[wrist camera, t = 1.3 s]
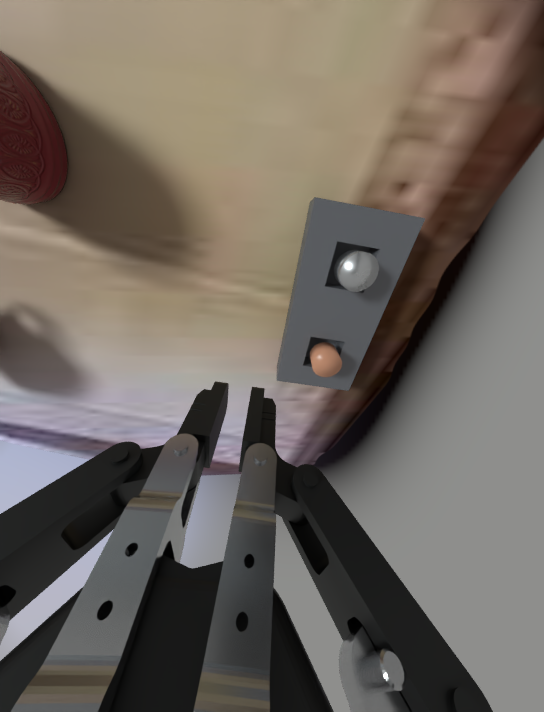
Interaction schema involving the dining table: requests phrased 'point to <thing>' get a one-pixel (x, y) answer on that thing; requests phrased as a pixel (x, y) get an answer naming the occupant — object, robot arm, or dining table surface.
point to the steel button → (356, 270)
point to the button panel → (341, 287)
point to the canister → (28, 141)
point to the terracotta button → (325, 359)
